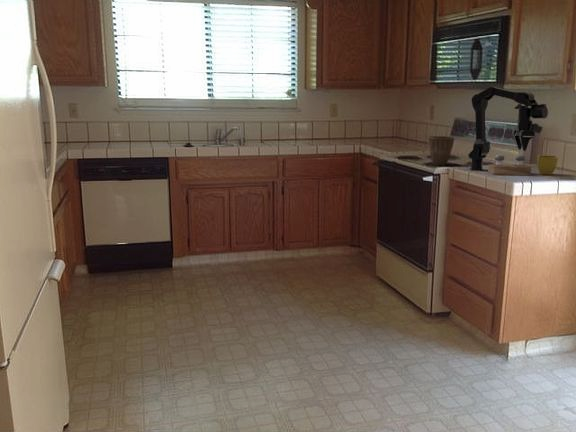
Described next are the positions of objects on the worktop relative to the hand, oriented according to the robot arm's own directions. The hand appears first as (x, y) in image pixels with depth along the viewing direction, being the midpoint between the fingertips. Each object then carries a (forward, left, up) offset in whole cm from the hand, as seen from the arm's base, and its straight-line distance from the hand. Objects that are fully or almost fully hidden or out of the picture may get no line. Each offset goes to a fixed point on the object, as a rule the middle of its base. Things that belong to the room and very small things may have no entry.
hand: (522, 150), depth 273 cm
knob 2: (-1, 0, -9) cm, 9 cm away
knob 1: (-1, -10, -9) cm, 14 cm away
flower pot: (-1, +13, -12) cm, 18 cm away
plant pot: (-44, -32, -12) cm, 56 cm away
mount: (-1, -5, -12) cm, 13 cm away
